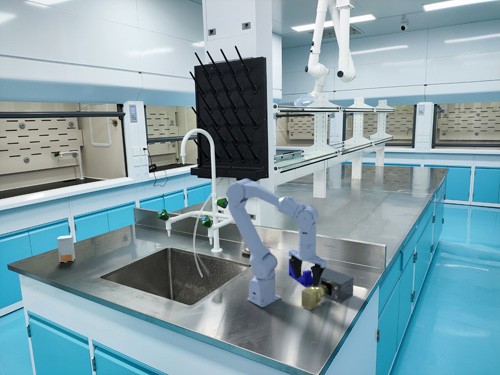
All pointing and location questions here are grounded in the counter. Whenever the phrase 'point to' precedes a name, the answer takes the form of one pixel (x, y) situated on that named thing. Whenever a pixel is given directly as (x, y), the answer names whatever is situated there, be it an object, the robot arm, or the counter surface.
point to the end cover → (313, 296)
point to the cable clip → (302, 277)
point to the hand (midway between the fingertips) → (306, 281)
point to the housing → (337, 285)
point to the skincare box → (66, 248)
